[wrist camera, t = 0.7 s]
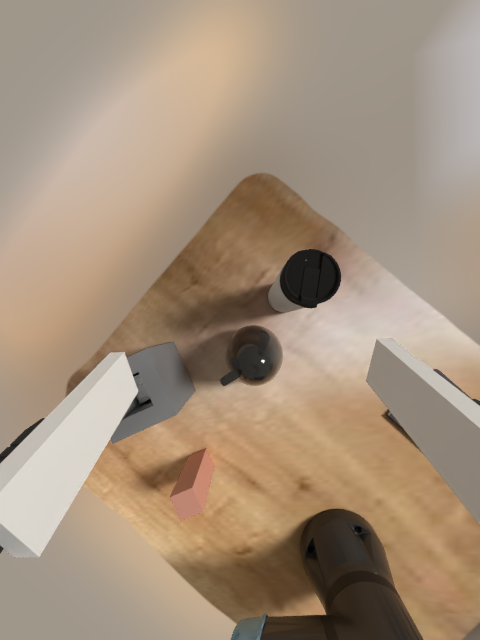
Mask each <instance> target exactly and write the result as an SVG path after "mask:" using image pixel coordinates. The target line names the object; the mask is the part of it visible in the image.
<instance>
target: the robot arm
mask: <svg viewBox="0 0 480 640" xmlns="http://www.w3.org/2000/svg"><path fill="white" fill-rule="evenodd" d="M366 382H367V383H368V384H369V385H370V387H371V388H372V389H373V391H374V392H375V393H376V394H377V396H378V397H379V398H380V399H381V401H382V402H383V403H384V404H385V406H386V407H387V408H388V410H389V411H390V412H391V413H392V415H393V416H394V417H395V418H396V420H397V421H398V422H399V424H400V425H401V426H402V427H403V429H404V430H405V431H406V432H407V434H408V435H409V436H410V437H411V439H412V440H413V441H414V443H415V444H416V445H417V446H418V448H419V449H420V450H421V451H422V453H423V454H424V455H425V457H426V458H427V459H428V460H429V462H430V463H431V464H432V465H433V467H434V468H435V469H436V470H437V472H438V473H439V474H440V476H441V477H442V478H443V479H444V481H445V482H446V483H447V484H448V486H449V487H450V488H451V490H452V491H453V492H454V493H455V495H456V496H457V497H458V498H459V500H460V501H461V502H462V503H463V505H464V506H465V507H466V509H467V510H468V511H469V512H470V514H471V515H472V516H473V517H474V519H475V520H476V521H477V523H478V524H479V525H480V401H478V400H476V399H470V398H469V397H467V396H466V395H465V394H464V393H462V392H461V391H460V390H458V389H457V388H456V387H454V386H453V385H452V384H451V383H449V382H448V381H447V380H445V379H444V378H443V377H441V376H440V375H439V374H438V373H436V372H435V371H434V370H432V369H431V368H430V367H428V366H427V365H426V364H425V363H423V362H422V361H421V360H419V359H418V358H417V357H416V356H414V355H413V354H412V353H410V352H409V351H408V350H406V349H405V348H404V347H403V346H401V345H400V344H399V343H397V342H396V341H395V340H393V339H392V338H388V339H377V340H376V344H375V348H374V351H373V355H372V359H371V363H370V367H369V371H368V375H367V379H366ZM137 393H138V389H137V386H136V383H135V380H134V377H133V375H132V372H131V369H130V366H129V363H128V361H127V358H126V355H125V352H115V353H109V354H108V355H107V356H106V357H105V358H104V359H103V360H102V362H101V363H100V364H99V365H98V366H97V367H96V368H95V369H94V370H93V371H92V372H91V373H90V374H89V375H88V376H87V377H86V378H85V379H84V380H83V381H82V382H81V383H80V384H79V385H78V386H77V387H76V388H75V389H74V390H73V391H72V392H71V393H70V394H69V395H68V396H67V397H66V398H65V399H64V400H63V401H62V402H61V403H60V404H59V405H58V406H57V407H56V408H55V409H54V410H53V411H52V412H51V413H50V414H49V415H48V416H47V417H46V418H42V419H41V420H39V421H38V422H36V423H35V424H33V425H32V426H30V427H29V428H28V429H26V430H25V431H24V432H23V433H22V434H21V435H20V436H19V437H18V438H17V439H16V440H15V441H14V442H13V443H12V444H11V446H10V447H7V448H6V449H5V450H4V451H3V452H2V453H1V454H0V553H1V552H2V550H3V549H4V550H5V551H7V552H8V553H9V554H10V555H12V556H13V557H14V558H16V557H17V558H19V557H39V556H40V555H41V553H42V552H43V550H44V548H45V546H46V545H47V543H48V542H49V540H50V538H51V537H52V535H53V533H54V532H55V530H56V528H57V527H58V525H59V523H60V522H61V520H62V518H63V517H64V515H65V513H66V512H67V510H68V508H69V507H70V505H71V503H72V502H73V500H74V498H75V497H76V495H77V493H78V491H79V490H80V488H81V487H82V485H83V483H84V482H85V480H86V478H87V477H88V475H89V473H90V472H91V470H92V468H93V467H94V465H95V463H96V462H97V460H98V458H99V456H100V455H101V453H102V451H103V450H104V448H105V446H106V445H107V443H108V441H109V440H110V438H111V436H112V435H113V433H114V431H115V430H116V428H117V426H118V425H119V423H120V421H121V420H122V418H123V416H124V415H125V413H126V411H127V410H128V408H129V406H130V405H131V403H132V401H133V400H134V398H135V396H136V395H137ZM301 555H302V559H303V564H304V568H305V571H306V574H307V576H308V578H309V580H310V582H311V584H312V586H313V588H314V590H315V592H316V594H317V596H318V598H319V600H320V601H321V603H322V605H323V607H324V609H325V612H326V615H306V616H283V617H268V615H267V614H264V615H263V616H262V617H254V618H246V619H243V620H241V621H240V622H239V623H238V624H237V625H236V627H235V629H234V631H233V634H232V638H231V640H423V638H422V636H421V634H420V632H419V631H418V629H417V627H416V625H415V623H414V622H413V620H412V618H411V616H410V614H409V612H408V611H407V609H406V607H405V605H404V603H403V602H402V600H401V598H400V596H399V594H398V592H397V591H396V589H395V585H394V582H393V578H392V575H391V571H390V568H389V564H388V561H387V557H386V554H385V551H384V548H383V546H382V543H381V541H380V540H379V538H378V536H377V534H376V533H375V531H374V529H373V528H372V526H371V525H370V524H369V523H368V522H367V521H366V520H365V519H364V518H362V517H361V516H359V515H358V514H356V513H353V512H351V511H347V510H341V509H335V510H329V511H325V512H323V513H320V514H319V515H317V516H316V517H314V518H313V519H312V520H311V521H310V522H309V523H308V525H307V526H306V528H305V530H304V532H303V534H302V538H301Z"/></svg>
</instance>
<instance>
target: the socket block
mask: <svg viewBox="0 0 480 640" xmlns="http://www.w3.org/2000/svg"><path fill="white" fill-rule="evenodd" d="M127 361H128V363H129V366H130V369H131V372H132V375H133V377H134V376H136V375H139V374H140V376H141V379H142V381H143V383H144V385H145V388H146V390H147V392H148V394H149V396H150V399H149V400H147V401H145V402H143V403H141V404H140V403H139V401H138V399H137V397H136V396H135V398H134V400H133V401H132V403H131V405H130V406H129V408H128V410H127V411H126V413H125V415H124V416H123V418H122V420H121V421H120V423H119V425H118V426H117V428H116V430H115V431H114V433H113V435H112V436H111V438H110V439H111V441H112V443H115V442H118V441H120V440H122V439H124V438H126V437H129V436H131V435H133V434H135V433H137V432H140V431H142V430H144V429H146V428H148V427H150V426H153V425H155V424H157V423H159V422H161V421H164V420H166V419H168V418H170V417H172V416H175V415H177V414H178V412H179V411H180V410H181V409H182V407H183V406H184V405H185V403H186V402H187V401H188V400H189V398H190V397H191V396H192V395H193V393H194V392H195V391H196V390H195V387H194V385H193V383H192V381H191V379H190V377H189V374H188V372H187V370H186V368H185V366H184V363H183V361H182V359H181V357H180V355H179V352H178V350H177V348H176V346H175V344H174V342H169V343H165V344H162V345H158V346H154V347H150V348H146V349H144V350H142V351H140V352H138V353H136V354H134V355H132V356H130V357H127ZM85 378H86V377H85ZM85 378H84V379H85Z"/></svg>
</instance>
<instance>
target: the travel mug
mask: <svg viewBox="0 0 480 640" xmlns="http://www.w3.org/2000/svg"><path fill="white" fill-rule="evenodd" d="M340 282H341V272H340V268H339V266H338V264H337V262H336V261H335V259H334V258H333V257H332V256H331V255H329V254H327V253H325V252H324V253H323V252H321V251H319V250H315V249H309V250H302V251H299V252H297V253H295V254H294V255H293V256H291V257H290V259H289V260H288V261H287V263H286V264H285V266H284V267H283V268H282V270H281V272H280V273H279V275H278V277H277V278H276V280H275V281H274V283H273V285H272V286H271V288H270V290H269V292H268V301H269V304H270V306H271V307H272V308H273V309H274V310H276V311H278V312H283V313H285V312H290V311H294V310H298V309H302V308H316V307H317V304H319V303H322V302H325V301H327V300H329V299H330V298H331V297H332V296H334V295H335V293H336V292H337V290H338V288H339V286H340Z"/></svg>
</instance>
